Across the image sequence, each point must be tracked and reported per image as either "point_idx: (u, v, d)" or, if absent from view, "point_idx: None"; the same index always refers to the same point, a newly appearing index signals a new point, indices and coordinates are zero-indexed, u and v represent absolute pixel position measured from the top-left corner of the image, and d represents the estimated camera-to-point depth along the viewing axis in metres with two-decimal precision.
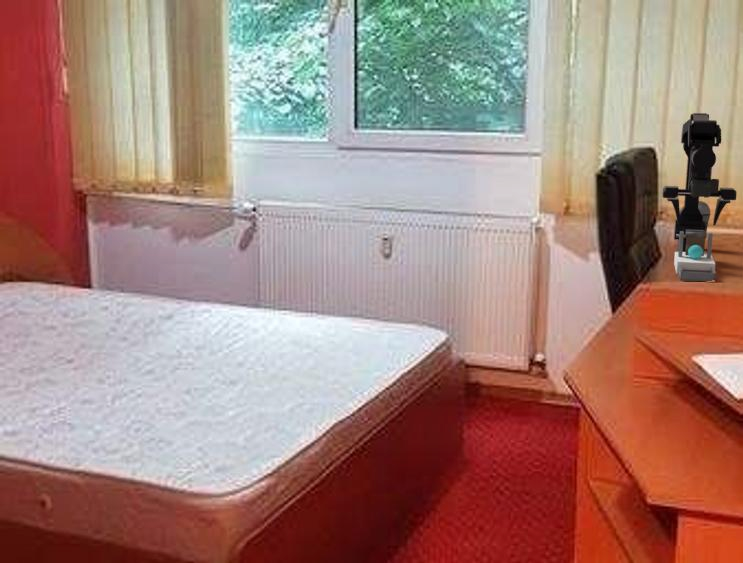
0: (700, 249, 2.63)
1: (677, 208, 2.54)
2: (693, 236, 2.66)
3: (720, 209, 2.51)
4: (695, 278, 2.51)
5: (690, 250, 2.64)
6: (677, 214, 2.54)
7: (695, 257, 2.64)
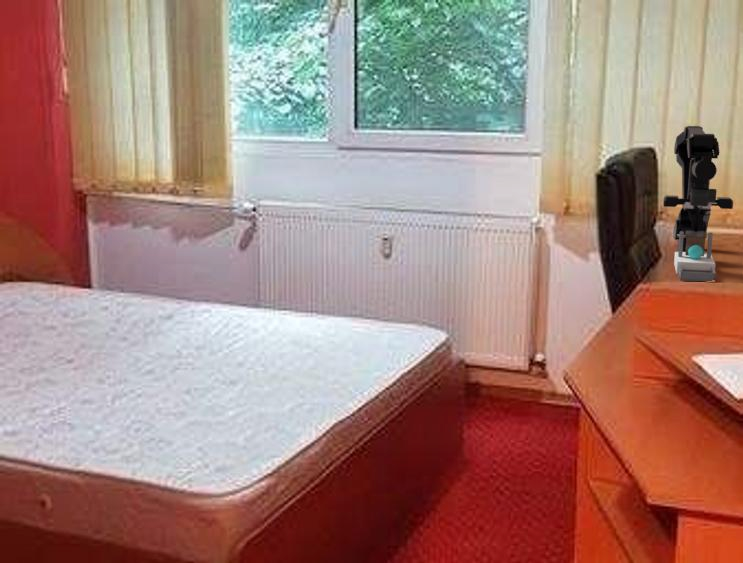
0: (700, 249, 2.63)
1: (693, 217, 2.68)
2: (693, 236, 2.66)
3: (701, 217, 2.67)
4: (695, 278, 2.51)
5: (690, 250, 2.64)
6: (693, 222, 2.68)
7: (695, 257, 2.64)
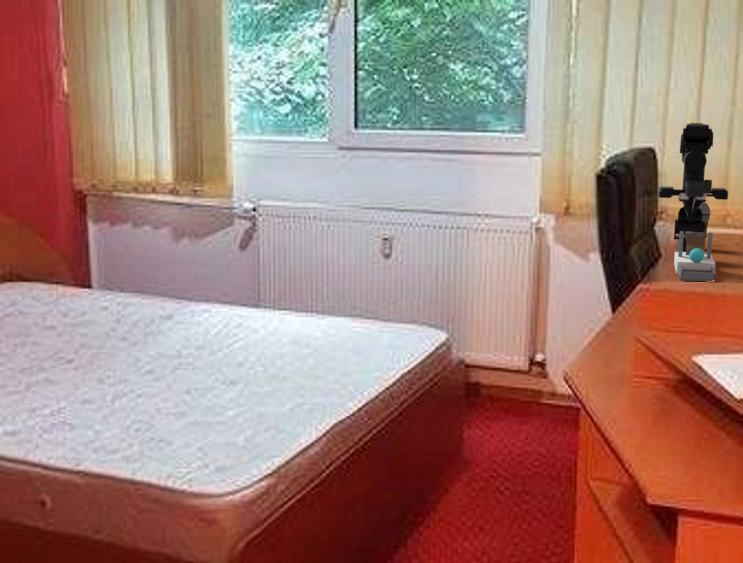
0: None
1: (688, 208, 2.68)
2: (693, 235, 2.66)
3: (696, 207, 2.67)
4: (695, 278, 2.51)
5: None
6: (688, 213, 2.68)
7: None
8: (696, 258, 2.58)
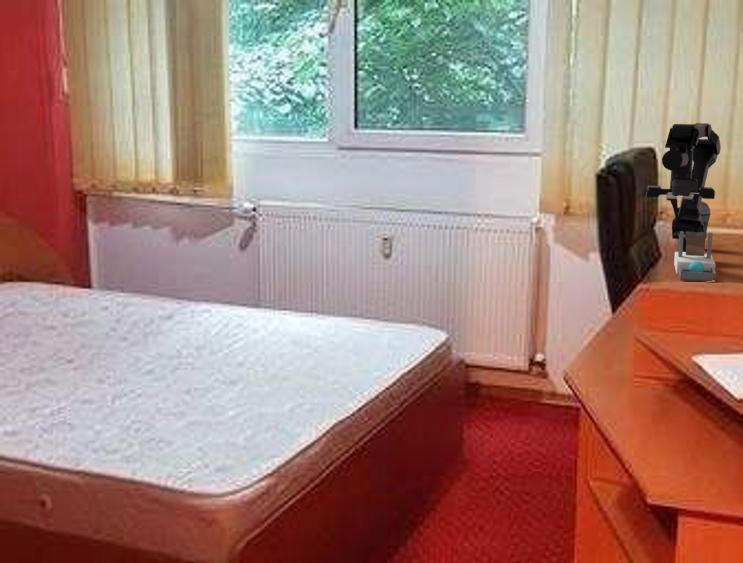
0: None
1: (675, 207, 2.69)
2: (693, 235, 2.66)
3: (684, 207, 2.69)
4: (695, 278, 2.51)
5: (691, 263, 2.57)
6: (675, 212, 2.70)
7: (697, 265, 2.55)
8: None
